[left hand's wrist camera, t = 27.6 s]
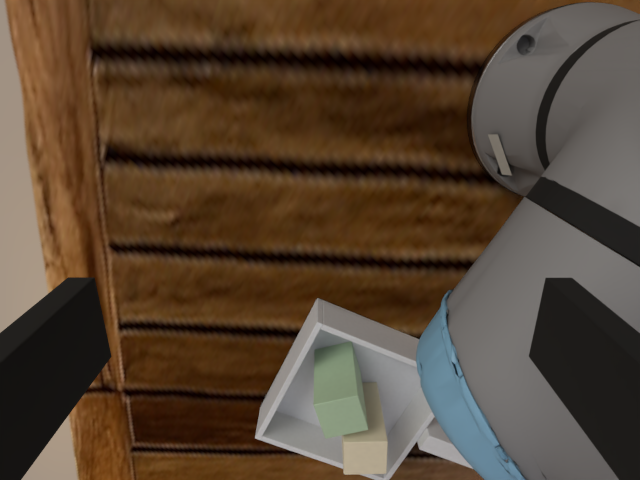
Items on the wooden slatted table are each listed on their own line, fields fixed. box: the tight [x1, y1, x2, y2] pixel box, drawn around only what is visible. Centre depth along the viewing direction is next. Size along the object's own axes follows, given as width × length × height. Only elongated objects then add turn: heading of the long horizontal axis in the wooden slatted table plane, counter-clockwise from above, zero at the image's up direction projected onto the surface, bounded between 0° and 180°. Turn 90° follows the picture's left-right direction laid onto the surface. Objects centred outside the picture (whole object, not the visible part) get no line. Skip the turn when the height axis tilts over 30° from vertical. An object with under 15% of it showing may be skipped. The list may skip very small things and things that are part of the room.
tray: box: [255, 298, 473, 480], centre depth 45 cm, size 28×15×6 cm, turn 65°
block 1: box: [313, 341, 368, 439], centre depth 41 cm, size 4×4×8 cm
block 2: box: [341, 382, 388, 475], centre depth 43 cm, size 4×4×8 cm
